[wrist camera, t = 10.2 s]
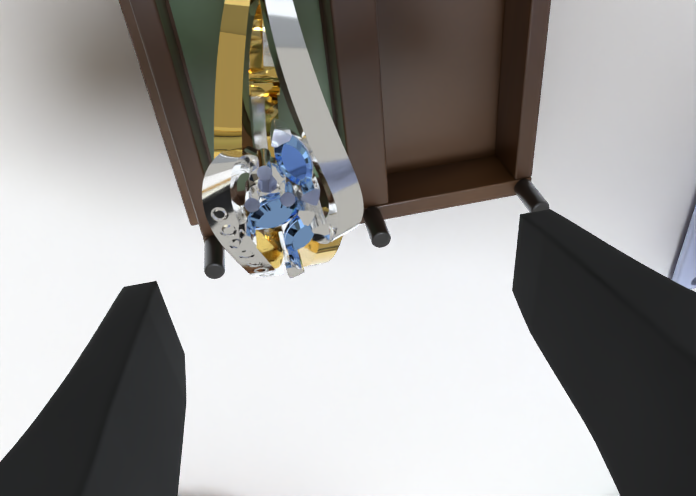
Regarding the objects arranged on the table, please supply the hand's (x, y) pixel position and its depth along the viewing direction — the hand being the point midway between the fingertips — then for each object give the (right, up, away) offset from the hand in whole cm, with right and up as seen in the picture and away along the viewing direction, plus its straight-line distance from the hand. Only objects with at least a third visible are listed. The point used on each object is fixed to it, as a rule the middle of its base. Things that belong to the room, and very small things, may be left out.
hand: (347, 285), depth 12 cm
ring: (-3, +6, +6) cm, 9 cm away
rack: (0, +7, +7) cm, 10 cm away
